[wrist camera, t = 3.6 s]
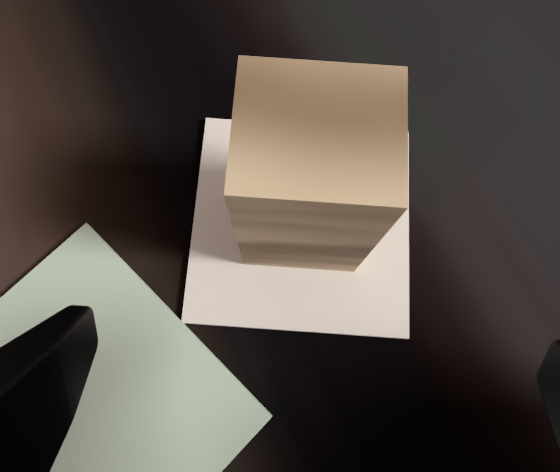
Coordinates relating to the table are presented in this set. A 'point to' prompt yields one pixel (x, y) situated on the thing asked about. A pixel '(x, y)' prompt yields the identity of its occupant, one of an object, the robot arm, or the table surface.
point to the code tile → (286, 272)
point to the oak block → (316, 160)
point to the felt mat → (134, 370)
